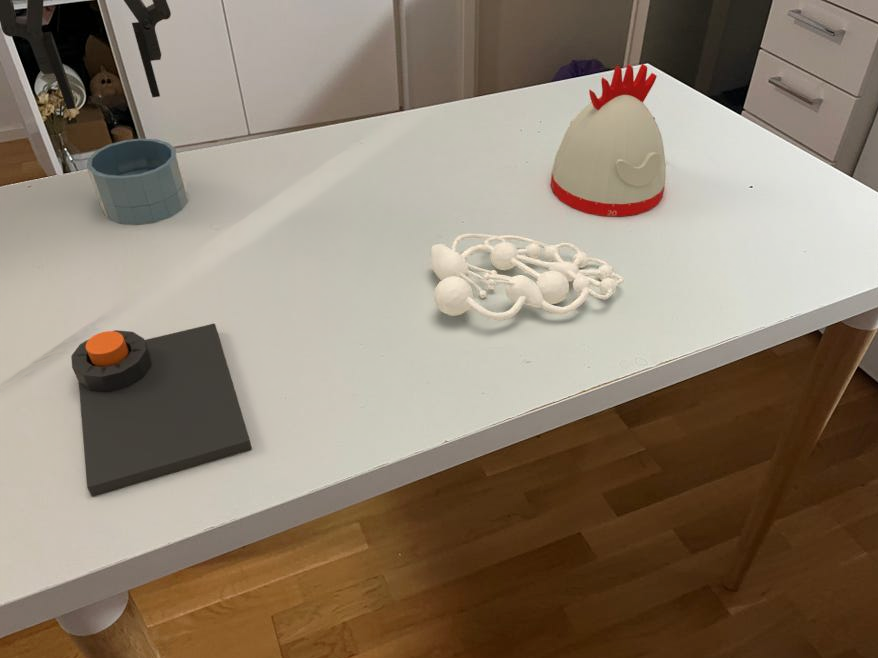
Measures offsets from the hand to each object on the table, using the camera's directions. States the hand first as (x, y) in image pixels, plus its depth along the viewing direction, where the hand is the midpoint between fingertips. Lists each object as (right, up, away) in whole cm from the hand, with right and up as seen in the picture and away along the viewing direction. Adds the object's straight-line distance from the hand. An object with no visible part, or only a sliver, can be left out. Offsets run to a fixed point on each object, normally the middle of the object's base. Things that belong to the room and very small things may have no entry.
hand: (113, 97), depth 77 cm
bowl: (0, -10, +9) cm, 14 cm away
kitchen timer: (+53, -5, +17) cm, 56 cm away
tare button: (+6, -26, -12) cm, 30 cm away
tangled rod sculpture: (+41, -19, +2) cm, 45 cm away
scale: (+10, -31, -13) cm, 35 cm away
